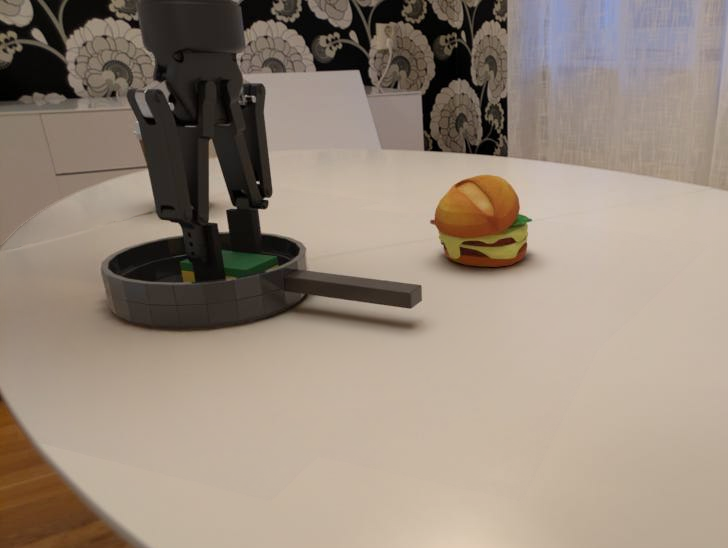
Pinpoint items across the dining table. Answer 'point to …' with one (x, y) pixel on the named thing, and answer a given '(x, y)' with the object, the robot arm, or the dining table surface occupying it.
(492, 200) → the cheeseburger
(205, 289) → the pan
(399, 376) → the dining table surface
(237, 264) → the sponge
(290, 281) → the pan handle
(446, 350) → the dining table surface
